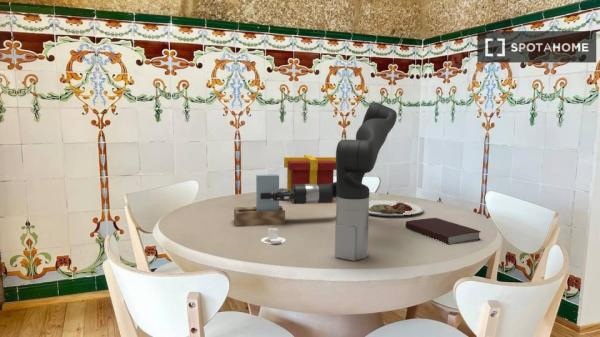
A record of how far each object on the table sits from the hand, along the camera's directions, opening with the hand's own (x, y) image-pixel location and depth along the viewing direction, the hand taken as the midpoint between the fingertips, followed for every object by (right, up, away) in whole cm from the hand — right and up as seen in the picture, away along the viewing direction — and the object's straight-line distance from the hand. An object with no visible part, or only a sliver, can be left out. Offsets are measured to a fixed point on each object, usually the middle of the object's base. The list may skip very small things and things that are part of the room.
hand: (260, 195), depth 161 cm
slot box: (-1, -10, +3) cm, 11 cm away
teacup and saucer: (+4, -14, -23) cm, 27 cm away
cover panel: (+3, -10, +2) cm, 11 cm away
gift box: (+20, -5, +49) cm, 53 cm away
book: (+63, -13, -11) cm, 66 cm away
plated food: (+52, -8, +26) cm, 59 cm away
